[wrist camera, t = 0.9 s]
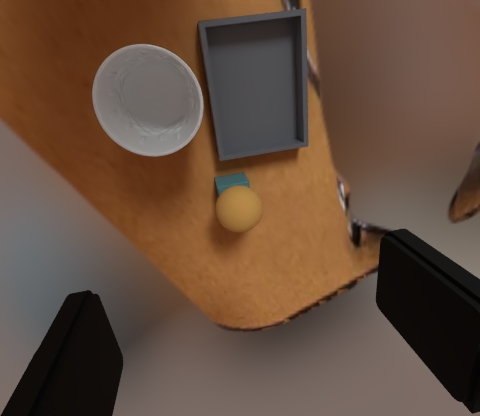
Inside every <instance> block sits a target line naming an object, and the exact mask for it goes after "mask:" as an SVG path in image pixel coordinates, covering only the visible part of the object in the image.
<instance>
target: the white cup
mask: <svg viewBox="0 0 480 416" xmlns="http://www.w3.org/2000/svg"><path fill="white" fill-rule="evenodd" d="M92 100H93V106H94V110H95V114H96V116H97V119H98V121H99V123H100V125H101V126H102V128H103V129H104V131H105V132H106V133H107V134H108V136H109V137H110V138H111V139H112V140H113V141H115V142H116V143H117V144H118V145H120V146H121V147H123V148H124V149H126V150H128V151H130V152H133V153H135V154H139V155H143V156H151V157H156V156H164V155H168V154H171V153H174V152H176V151H178V150H180V149H181V148H183V147H184V146H186V145H187V144H188V143H189V142H190V141H191V140H192V138H193V137H194V136H195V134H196V133H197V131H198V129H199V127H200V124H201V121H202V117H203V96H202V91H201V88H200V85H199V83H198V80H197V78H196V77H195V75H194V73H193V72H192V70H191V69H190V68H189V66H188V65H187V64H186V63H185V62H184V61H183V60H182V59H181V58H179V57H178V56H177V55H175V54H174V53H172V52H170V51H168V50H166V49H164V48H162V47H159V46H155V45H149V44H134V45H129V46H126V47H123V48H121V49H119V50H117V51H115V52H114V53H112V54H111V55H110V56H108V57H107V58H106V59H105V60H104V62H103V63H102V64H101V66H100V67H99V69H98V71H97V73H96V76H95V79H94V82H93V88H92Z"/></svg>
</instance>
